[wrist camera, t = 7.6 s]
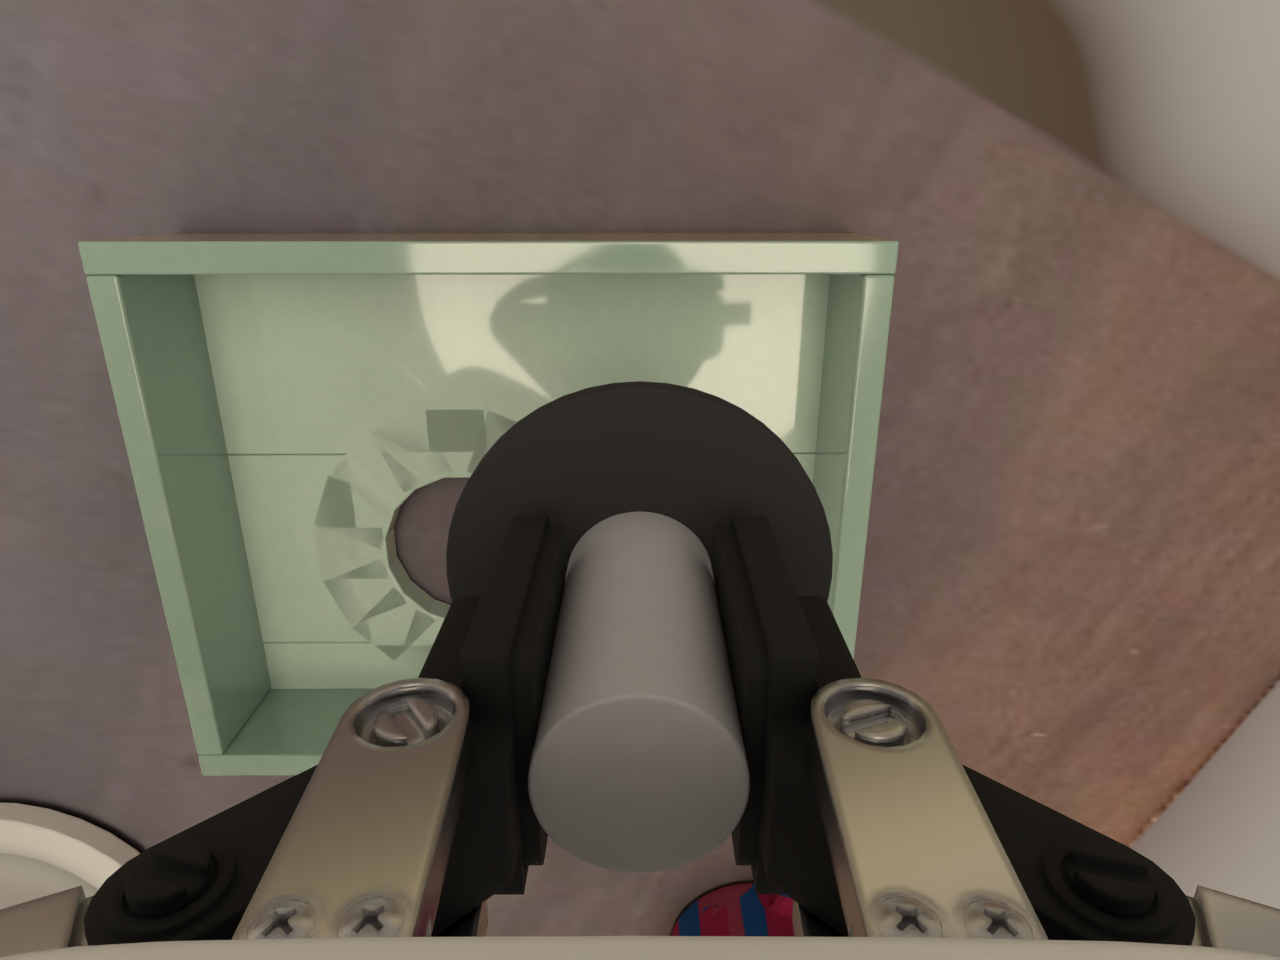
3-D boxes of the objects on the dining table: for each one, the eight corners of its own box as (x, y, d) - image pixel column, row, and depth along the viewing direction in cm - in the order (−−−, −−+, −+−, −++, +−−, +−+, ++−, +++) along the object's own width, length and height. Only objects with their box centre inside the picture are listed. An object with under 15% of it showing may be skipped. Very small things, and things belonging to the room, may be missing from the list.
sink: (812, 689, 29) (842, 774, 25) (265, 691, 29) (201, 776, 25) (852, 232, 23) (900, 240, 19) (177, 232, 23) (75, 241, 19)
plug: (801, 690, 15) (900, 1001, 10) (475, 688, 15) (374, 999, 10) (830, 369, 13) (984, 517, 7) (449, 367, 13) (295, 514, 7)
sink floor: (812, 689, 29) (817, 705, 28) (265, 691, 29) (252, 708, 28) (852, 232, 23) (861, 234, 22) (177, 232, 23) (157, 234, 22)
